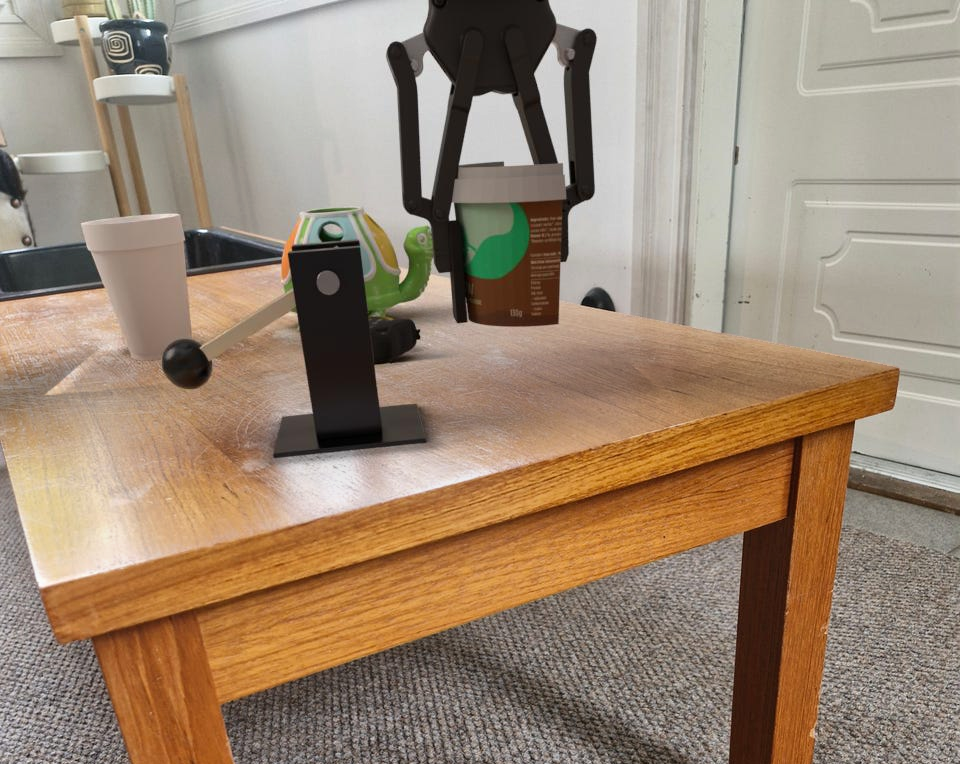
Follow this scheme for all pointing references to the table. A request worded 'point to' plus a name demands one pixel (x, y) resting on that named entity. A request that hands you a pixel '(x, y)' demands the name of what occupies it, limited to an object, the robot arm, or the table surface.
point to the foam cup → (143, 278)
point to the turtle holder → (368, 254)
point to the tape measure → (392, 337)
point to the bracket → (339, 360)
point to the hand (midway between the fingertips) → (503, 314)
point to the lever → (217, 345)
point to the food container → (511, 241)
